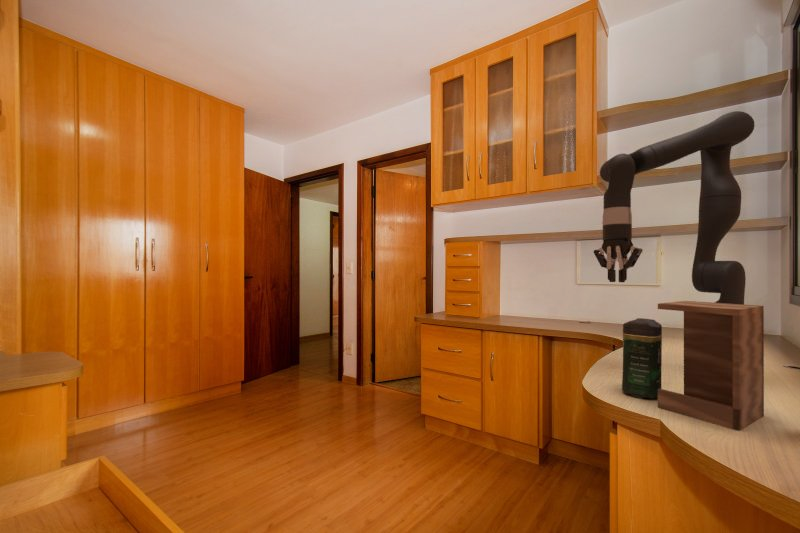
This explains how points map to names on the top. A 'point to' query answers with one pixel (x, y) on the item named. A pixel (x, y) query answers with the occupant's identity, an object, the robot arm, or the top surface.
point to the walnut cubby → (720, 363)
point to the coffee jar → (642, 358)
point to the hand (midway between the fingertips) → (616, 281)
